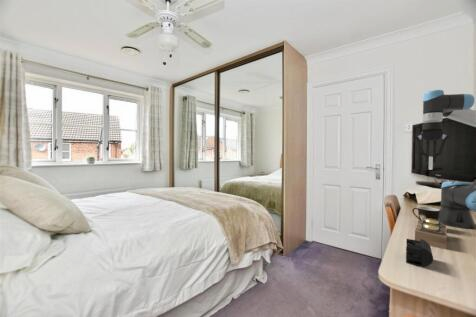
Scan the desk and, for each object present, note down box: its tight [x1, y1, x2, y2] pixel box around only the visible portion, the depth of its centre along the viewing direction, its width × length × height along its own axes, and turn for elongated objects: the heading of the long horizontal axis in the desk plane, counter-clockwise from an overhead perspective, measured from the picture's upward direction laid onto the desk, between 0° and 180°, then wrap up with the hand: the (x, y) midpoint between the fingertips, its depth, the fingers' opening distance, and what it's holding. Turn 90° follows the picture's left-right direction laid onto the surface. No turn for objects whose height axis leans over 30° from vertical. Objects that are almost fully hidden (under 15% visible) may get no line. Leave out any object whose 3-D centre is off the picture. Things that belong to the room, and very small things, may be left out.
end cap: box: [405, 238, 434, 268], centre depth 80 cm, size 10×7×7 cm
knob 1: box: [425, 218, 439, 226], centre depth 104 cm, size 5×5×2 cm
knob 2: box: [423, 224, 439, 232], centre depth 96 cm, size 5×5×2 cm
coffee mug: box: [412, 206, 440, 221], centre depth 117 cm, size 12×9×10 cm
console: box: [414, 219, 448, 250], centre depth 100 cm, size 20×10×6 cm, turn 138°
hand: (430, 169), depth 112 cm, fingers closed
